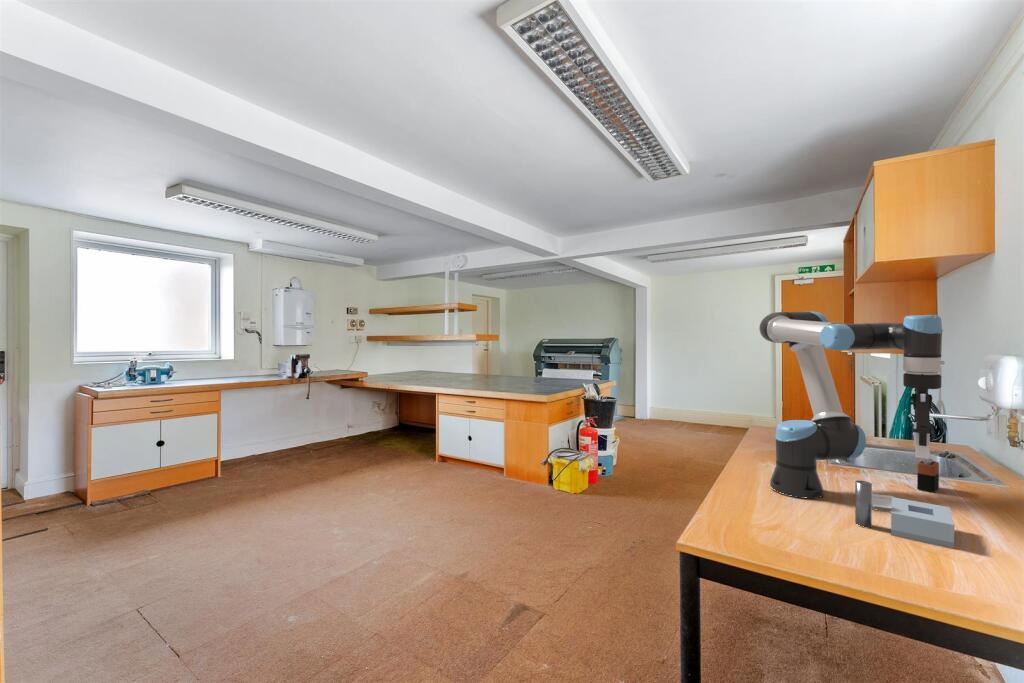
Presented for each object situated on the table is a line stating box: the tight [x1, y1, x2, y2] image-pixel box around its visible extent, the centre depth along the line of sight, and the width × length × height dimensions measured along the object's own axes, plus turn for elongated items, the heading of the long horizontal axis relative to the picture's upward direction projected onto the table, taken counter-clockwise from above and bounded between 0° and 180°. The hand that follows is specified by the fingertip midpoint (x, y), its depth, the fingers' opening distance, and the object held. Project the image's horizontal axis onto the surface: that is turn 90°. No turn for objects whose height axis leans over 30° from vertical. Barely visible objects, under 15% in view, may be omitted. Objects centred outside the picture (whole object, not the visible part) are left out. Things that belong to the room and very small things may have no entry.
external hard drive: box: [872, 493, 896, 512], centre depth 140 cm, size 2×8×12 cm
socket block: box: [890, 496, 955, 549], centre depth 122 cm, size 12×14×6 cm
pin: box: [854, 480, 873, 528], centre depth 126 cm, size 4×4×12 cm
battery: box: [916, 458, 940, 493], centre depth 152 cm, size 4×7×10 cm, turn 127°
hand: (921, 452), depth 121 cm, fingers open, 13 cm apart
